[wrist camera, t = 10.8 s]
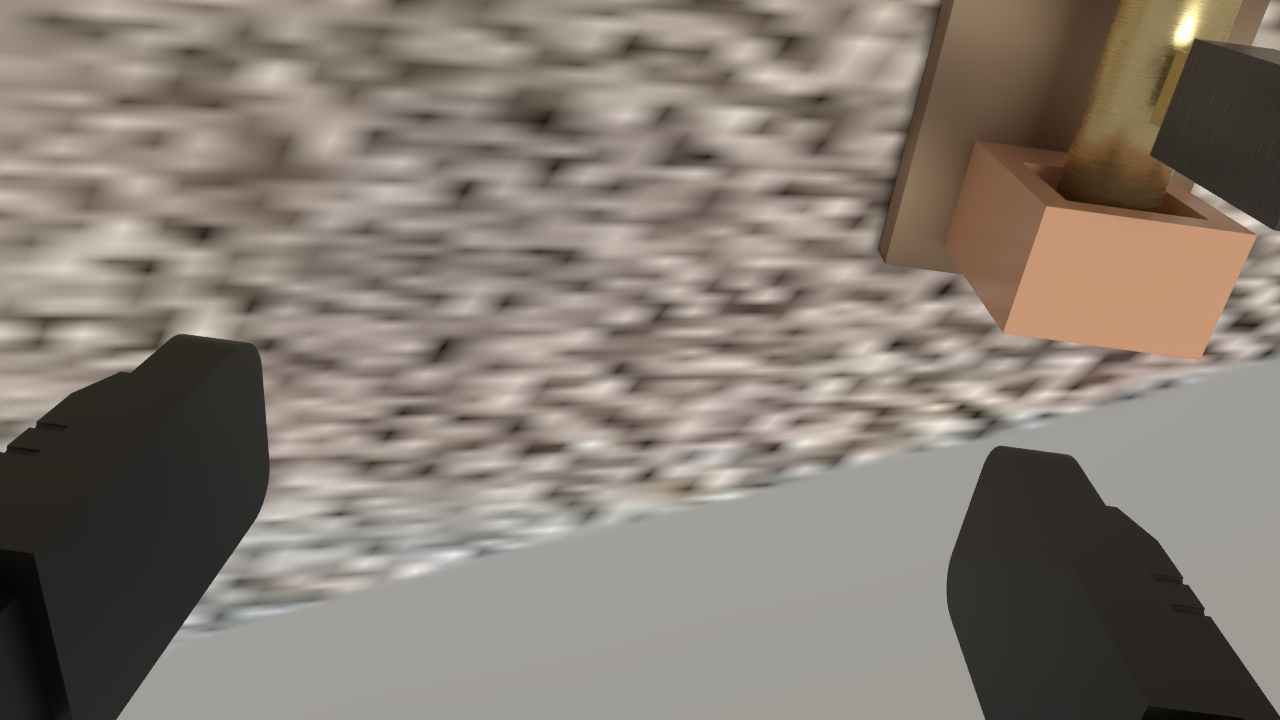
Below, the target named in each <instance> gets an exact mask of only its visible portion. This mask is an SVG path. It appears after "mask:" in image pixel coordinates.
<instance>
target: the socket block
mask: <svg viewBox="0 0 1280 720" xmlns="http://www.w3.org/2000/svg"><path fill="white" fill-rule="evenodd" d="M1067 154H1068V153H1065V152H1058V151H1051V150H1044V149H1036V148H1029V147H1022V146H1015V145H1007V144H1000V143H993V142H986V141H978V140H976V141H975V144H974V148H973V151H972V154H971V158H970V161H969V165H968V168H967V171H966V175H965V178H964V182H963V185H962V188H961V192H960V195H959V199H958V202H957V205H956V209H955V212H954V216H953V219H952V222H951V226H950V229H949V233H948V236H947V239H946V243H945V248H946V249H947V251H948V252H949V253H950V255H951V256H952V258H953V259H954V261H955V262H956V264H957V265H958V267H959V268H960V270H961V271H962V273H963V274H964V276H965V277H966V279H967V280H968V282H969V283H970V285H971V286H972V288H973V289H974V291H975V292H976V294H977V295H978V297H979V298H980V299H981V301H982V302H983V304H984V305H985V307H986V308H987V310H988V311H989V313H990V314H991V316H992V317H993V319H994V320H995V322H996V323H997V325H998V326H999V328H1000V329H1001V331H1002V332H1003V333H1006V334H1013V335H1021V336H1028V337H1035V338H1043V339H1050V340H1057V341H1065V342H1072V343H1079V344H1086V345H1094V346H1101V347H1108V348H1116V349H1123V350H1130V351H1138V352H1145V353H1152V354H1159V355H1167V356H1174V357H1181V358H1189V359H1196V360H1200V359H1201V357H1202V354H1203V352H1204V350H1205V348H1206V346H1207V344H1208V341H1209V339H1210V337H1211V335H1212V333H1213V331H1214V328H1215V326H1216V324H1217V322H1218V320H1219V317H1220V315H1221V313H1222V311H1223V309H1224V307H1225V304H1226V302H1227V300H1228V298H1229V296H1230V294H1231V291H1232V289H1233V287H1234V285H1235V283H1236V280H1237V278H1238V276H1239V274H1240V272H1241V270H1242V267H1243V265H1244V263H1245V261H1246V259H1247V257H1248V254H1249V252H1250V250H1251V248H1252V246H1253V243H1254V241H1255V239H1256V237H1257V235H1256V234H1255V233H1253V232H1251V231H1250V230H1248V229H1247V228H1245V227H1244V226H1242V225H1240V224H1239V223H1237V222H1236V221H1234V220H1232V219H1231V218H1229V217H1228V216H1226V215H1225V214H1223V213H1221V212H1220V211H1218V210H1217V209H1215V208H1213V207H1212V206H1210V205H1209V204H1207V203H1206V202H1204V201H1202V200H1201V199H1199V198H1198V197H1196V196H1194V195H1193V194H1191V193H1190V192H1188V191H1187V190H1185V189H1183V188H1182V187H1180V186H1179V185H1177V184H1175V183H1174V182H1172V181H1170V184H1169V186H1168V189H1167V191H1166V194H1165V196H1164V199H1163V201H1162V204H1161V206H1160V209H1159V211H1158V213H1152V212H1145V211H1138V210H1131V209H1123V208H1116V207H1109V206H1102V205H1094V204H1087V203H1080V202H1073V201H1067V200H1065V199H1064V198H1063V197H1062V196H1061V195H1060V194H1059V193H1057V192H1056V191H1055V189H1056V186H1057V183H1058V180H1059V177H1060V174H1061V172H1062V169H1063V166H1064V163H1065V160H1066V157H1067Z"/></svg>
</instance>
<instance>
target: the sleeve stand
mask: <svg viewBox="0 0 1280 720" xmlns="http://www.w3.org/2000/svg"><path fill="white" fill-rule="evenodd" d="M1269 2H1270V0H1243V2H1242V4H1241V7H1240V9H1239V12H1238V14H1237V17H1236V19H1235V22H1234V24H1233V27H1232V29H1231V32H1230V34H1229V37H1228V39H1227V42H1226V43H1233V44H1240V45H1247V46H1251V45H1252V43H1253V40H1254V38H1255V36H1256V33H1257V31H1258V28H1259V26H1260V24H1261V21H1262V19H1263V16H1264V14H1265V11H1266V9H1267V7H1268V4H1269ZM1119 3H1120V0H943V1H942V5H941V9H940V13H939V17H938V20H937V24H936V28H935V32H934V36H933V40H932V44H931V47H930V51H929V55H928V59H927V63H926V67H925V71H924V74H923V78H922V82H921V86H920V90H919V94H918V98H917V102H916V105H915V109H914V113H913V117H912V121H911V125H910V129H909V132H908V136H907V140H906V144H905V148H904V152H903V156H902V159H901V163H900V167H899V171H898V175H897V179H896V183H895V186H894V190H893V194H892V198H891V202H890V206H889V210H888V213H887V217H886V221H885V225H884V229H883V233H882V237H881V240H880V244H879V248H878V250H879V253H880V255H881V257H882V259H883V261H884V263H885V264H891V265H899V266H906V267H913V268H920V269H928V270H935V271H942V272H950V273H957V274H963V273H962V271H961V270H960V268H959V267H958V265H957V264H956V262H955V261H954V259H953V258H952V256H951V255H950V253H949V252H948V251H947V249H946V248H945V243H946V239H947V236H948V233H949V229H950V226H951V222H952V219H953V216H954V212H955V209H956V205H957V202H958V199H959V195H960V192H961V188H962V185H963V182H964V178H965V175H966V171H967V168H968V165H969V161H970V158H971V154H972V151H973V148H974V144H975V141H976V140H978V141H986V142H993V143H1000V144H1007V145H1015V146H1022V147H1029V148H1036V149H1044V150H1051V151H1058V152H1065V153H1068V151H1069V148H1070V145H1071V142H1072V139H1073V137H1074V134H1075V131H1076V128H1077V125H1078V122H1079V119H1080V116H1081V113H1082V110H1083V107H1084V105H1085V102H1086V99H1087V96H1088V93H1089V90H1090V87H1091V84H1092V81H1093V78H1094V75H1095V72H1096V70H1097V67H1098V64H1099V61H1100V58H1101V55H1102V52H1103V49H1104V46H1105V43H1106V40H1107V38H1108V35H1109V32H1110V29H1111V26H1112V23H1113V20H1114V17H1115V14H1116V11H1117V8H1118V5H1119ZM1171 181H1172V182H1174V183H1175V184H1177V185H1179V186H1180V187H1182V188H1183V189H1185V190H1187V191H1188V192H1190V193H1191V190H1192V188H1193V185H1194V183H1195V182H1193V181H1192V180H1190V179H1188V178H1187V177H1185V176H1183V175H1182V174H1180V173H1179V172H1177V171H1174V174H1173V176H1172V179H1171Z"/></svg>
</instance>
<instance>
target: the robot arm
mask: <svg viewBox="0 0 1280 720" xmlns="http://www.w3.org/2000/svg"><path fill="white" fill-rule="evenodd" d="M268 480H269V451H268V438H267V426H266V413H265V400H264V388H263V375H262V365H261V359H260V355H259V353H258V350H257V349H256V347H255V346H254V345H253V344H251V343H246V342H239V341H231V340H224V339H216V338H209V337H201V336H194V335H187V334H178V335H176V336H174V337H172V338H171V339H170V340H169V341H167V342H166V343H165V344H164V345H163V346H162V347H160V348H159V349H158V350H157V351H156V352H155V353H153V354H152V355H151V356H150V357H149V358H148V359H147V360H145V361H144V362H143V363H142V364H141V365H140V366H138V367H137V368H136V369H135V370H134V371H133V372H131V373H127V372H119V373H117V374H115V375H112V376H110V377H108V378H105V379H103V380H101V381H99V382H96V383H94V384H92V385H89V386H87V387H85V388H83V389H80V390H78V391H76V392H73V393H71V394H70V395H69V396H68V397H66V398H65V399H64V400H63V401H61V402H60V403H59V404H58V405H57V406H55V407H54V408H53V409H52V410H50V411H49V412H48V413H47V414H46V415H44V416H43V417H42V418H41V419H39V420H38V421H37V425H36V427H35V428H28V429H27V430H26V431H25V432H23V433H22V434H21V435H20V436H18V437H17V438H16V439H15V440H14V441H12V442H11V443H10V444H9V445H7V450H6V452H5V453H2V452H0V720H116V719H117V718H118V716H119V715H120V713H121V712H122V710H123V709H124V708H125V706H126V705H127V703H128V702H129V700H130V699H131V697H132V696H133V695H134V693H135V692H136V690H137V689H138V688H139V686H140V685H141V683H142V682H143V680H144V679H145V677H146V676H147V675H148V673H149V672H150V670H151V669H152V667H153V666H154V665H155V663H156V662H157V660H158V658H159V657H160V656H161V655H162V653H163V652H164V650H165V649H166V647H167V646H168V644H169V643H170V642H171V640H172V639H173V637H174V636H175V634H176V633H177V632H178V630H179V629H180V627H181V626H182V624H183V623H184V622H185V620H186V619H187V617H188V616H189V614H190V613H191V611H192V610H193V609H194V607H195V606H196V604H197V603H198V601H199V600H200V599H201V597H202V596H203V594H204V593H205V591H206V590H207V589H208V587H209V586H210V584H211V583H212V581H213V580H214V579H215V577H216V576H217V574H218V573H219V571H220V570H221V568H222V567H223V566H224V564H225V563H226V561H227V560H228V558H229V557H230V556H231V554H232V553H233V551H234V550H235V548H236V547H237V546H238V544H239V543H240V541H241V540H242V538H243V537H244V535H245V534H246V533H247V531H248V530H249V528H250V527H251V525H252V524H253V523H254V521H255V519H256V518H257V516H258V514H259V512H260V510H261V507H262V505H263V501H264V498H265V495H266V491H267V486H268ZM947 604H948V609H949V613H950V617H951V620H952V623H953V626H954V629H955V632H956V635H957V638H958V641H959V644H960V647H961V650H962V653H963V656H964V658H965V661H966V664H967V667H968V670H969V673H970V676H971V679H972V682H973V684H974V688H975V691H976V693H977V697H978V700H979V702H980V705H981V708H982V711H983V714H984V716H985V720H1280V716H1279V715H1278V713H1277V712H1276V710H1275V709H1274V707H1273V706H1272V705H1271V703H1270V702H1269V700H1268V699H1267V697H1266V696H1265V695H1264V693H1263V692H1262V690H1261V689H1260V687H1259V686H1258V685H1257V683H1256V682H1255V680H1254V679H1253V677H1252V676H1251V674H1250V673H1249V672H1248V670H1247V669H1246V667H1245V666H1244V664H1243V663H1242V662H1241V660H1240V659H1239V657H1238V656H1237V654H1236V653H1235V651H1234V650H1233V649H1232V647H1231V646H1230V644H1229V643H1228V641H1227V640H1226V638H1225V637H1224V636H1223V634H1222V633H1221V631H1220V630H1219V628H1218V627H1217V626H1216V624H1215V623H1214V621H1213V620H1212V618H1211V617H1209V616H1205V615H1204V609H1205V608H1204V607H1203V605H1202V604H1201V603H1200V601H1199V600H1198V598H1197V597H1196V595H1195V594H1194V592H1193V591H1192V590H1191V588H1190V587H1189V586H1188V585H1184V584H1183V577H1182V575H1181V574H1180V572H1179V571H1178V569H1177V568H1176V567H1175V565H1174V564H1173V562H1172V561H1171V559H1170V558H1169V556H1168V555H1167V554H1166V552H1165V551H1164V549H1163V548H1162V546H1161V545H1160V544H1159V542H1158V541H1157V540H1156V539H1155V538H1153V537H1152V536H1151V535H1150V534H1149V533H1147V532H1146V531H1145V530H1144V529H1143V528H1141V527H1140V526H1139V525H1138V524H1136V523H1135V522H1134V521H1133V520H1132V519H1130V518H1129V517H1128V516H1127V515H1125V514H1124V513H1123V512H1122V511H1121V510H1119V509H1118V508H1117V507H1111V506H1106V505H1105V504H1104V502H1103V501H1102V499H1101V498H1100V496H1099V494H1098V493H1097V491H1096V490H1095V488H1094V487H1093V485H1092V484H1091V482H1090V481H1089V479H1088V478H1087V476H1086V475H1085V473H1084V471H1083V470H1082V468H1081V467H1080V465H1079V464H1078V462H1077V461H1076V460H1075V459H1074V458H1073V457H1072V456H1070V455H1066V454H1058V453H1051V452H1044V451H1036V450H1029V449H1021V448H1014V447H1007V446H998V447H996V448H994V449H993V450H992V451H991V452H990V454H989V455H988V457H987V459H986V461H985V463H984V465H983V468H982V471H981V474H980V476H979V479H978V482H977V485H976V488H975V491H974V493H973V496H972V499H971V502H970V505H969V507H968V511H967V513H966V516H965V519H964V521H963V524H962V527H961V530H960V533H959V536H958V538H957V541H956V544H955V547H954V550H953V552H952V556H951V559H950V563H949V568H948V574H947Z"/></svg>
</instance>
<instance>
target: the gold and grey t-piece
mask: <svg viewBox="0 0 1280 720" xmlns="http://www.w3.org/2000/svg"><path fill="white" fill-rule="evenodd" d="M1242 2H1243V0H1120V3H1119V5H1118V8H1117V11H1116V14H1115V17H1114V20H1113V23H1112V26H1111V29H1110V32H1109V35H1108V38H1107V40H1106V43H1105V46H1104V49H1103V52H1102V55H1101V58H1100V61H1099V64H1098V67H1097V70H1096V72H1095V75H1094V78H1093V81H1092V84H1091V87H1090V90H1089V93H1088V96H1087V99H1086V102H1085V105H1084V107H1083V110H1082V113H1081V116H1080V119H1079V122H1078V125H1077V128H1076V131H1075V134H1074V137H1073V139H1072V142H1071V145H1070V148H1069V151H1068V154H1067V157H1066V160H1065V163H1064V166H1063V169H1062V172H1061V174H1060V177H1059V180H1058V183H1057V186H1056V189H1055V191H1056V192H1057V193H1059V194H1060V195H1061V196H1062V197H1063V198H1064V199H1065V200H1067V201H1073V202H1080V203H1087V204H1094V205H1102V206H1109V207H1116V208H1123V209H1131V210H1138V211H1145V212H1152V213H1158V211H1159V209H1160V206H1161V204H1162V201H1163V199H1164V196H1165V194H1166V191H1167V189H1168V186H1169V184H1170V181H1171V179H1172V176H1173V174H1174V171H1177V172H1179V173H1180V174H1182V175H1183V176H1185V177H1187V178H1188V179H1190V180H1192V181H1193V182H1195V183H1197V184H1198V185H1200V186H1202V187H1203V188H1205V189H1207V190H1208V191H1210V192H1212V193H1213V194H1215V195H1217V196H1218V197H1220V198H1222V199H1223V200H1225V201H1226V202H1228V203H1230V204H1231V205H1233V206H1235V207H1236V208H1238V209H1240V210H1241V211H1243V212H1245V213H1246V214H1248V215H1250V216H1251V217H1253V218H1255V219H1256V220H1258V221H1260V222H1261V223H1263V224H1265V225H1266V226H1268V227H1269V228H1271V229H1273V230H1276V231H1280V51H1278V50H1274V49H1269V48H1262V47H1254V46H1247V45H1240V44H1233V43H1226V42H1227V39H1228V37H1229V34H1230V32H1231V29H1232V27H1233V24H1234V22H1235V19H1236V17H1237V14H1238V12H1239V9H1240V7H1241V4H1242Z"/></svg>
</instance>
